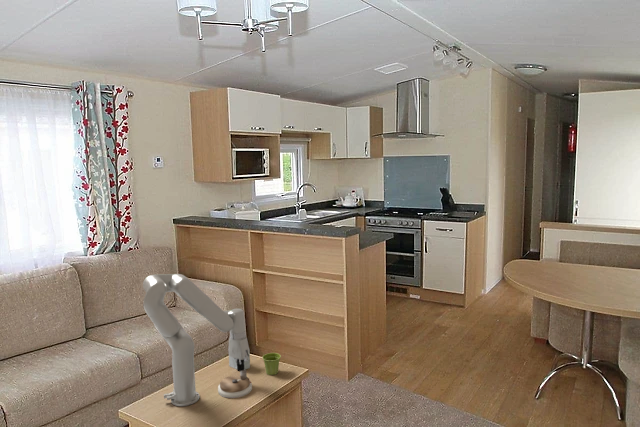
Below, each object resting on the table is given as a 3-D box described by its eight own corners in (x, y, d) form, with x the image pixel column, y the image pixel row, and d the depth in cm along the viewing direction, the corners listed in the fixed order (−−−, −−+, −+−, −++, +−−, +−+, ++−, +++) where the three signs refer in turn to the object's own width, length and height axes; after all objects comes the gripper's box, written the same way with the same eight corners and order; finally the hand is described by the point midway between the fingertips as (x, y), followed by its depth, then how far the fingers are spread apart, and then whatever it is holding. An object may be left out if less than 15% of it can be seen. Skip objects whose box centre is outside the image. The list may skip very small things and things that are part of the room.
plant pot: (285, 371, 241) (284, 355, 240) (273, 378, 233) (272, 362, 232) (271, 367, 246) (270, 351, 245) (259, 374, 238) (258, 357, 237)
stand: (221, 400, 213) (220, 396, 212) (215, 385, 228) (215, 381, 227) (255, 393, 218) (255, 389, 218) (248, 379, 233) (247, 374, 233)
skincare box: (250, 367, 247) (250, 348, 246) (241, 371, 242) (240, 352, 241) (238, 362, 254) (237, 343, 252) (228, 366, 249) (227, 347, 248)
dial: (230, 395, 213) (230, 384, 212) (214, 385, 223) (213, 374, 222) (255, 384, 223) (255, 374, 222) (238, 375, 233) (238, 365, 232)
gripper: (221, 334, 227) (224, 369, 230) (243, 340, 218) (246, 377, 221) (233, 329, 233) (236, 363, 236) (254, 334, 224) (257, 370, 227)
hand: (240, 370), depth 228 cm, fingers closed
